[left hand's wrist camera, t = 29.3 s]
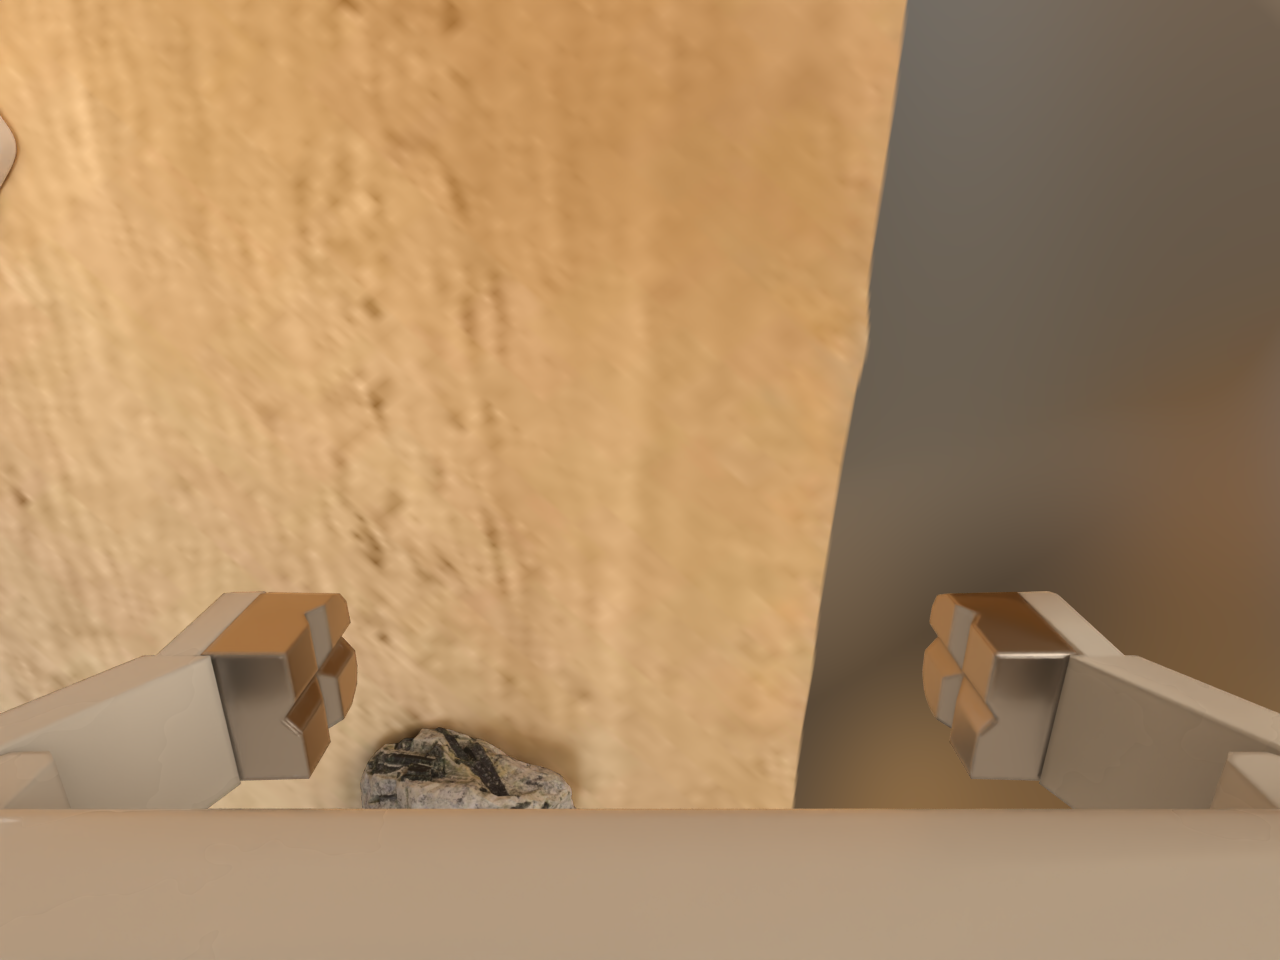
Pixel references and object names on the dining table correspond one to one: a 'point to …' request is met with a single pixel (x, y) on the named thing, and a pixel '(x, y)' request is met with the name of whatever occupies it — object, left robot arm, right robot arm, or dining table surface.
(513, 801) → the rock
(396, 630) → the dining table surface
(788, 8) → the dining table surface
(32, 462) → the dining table surface
